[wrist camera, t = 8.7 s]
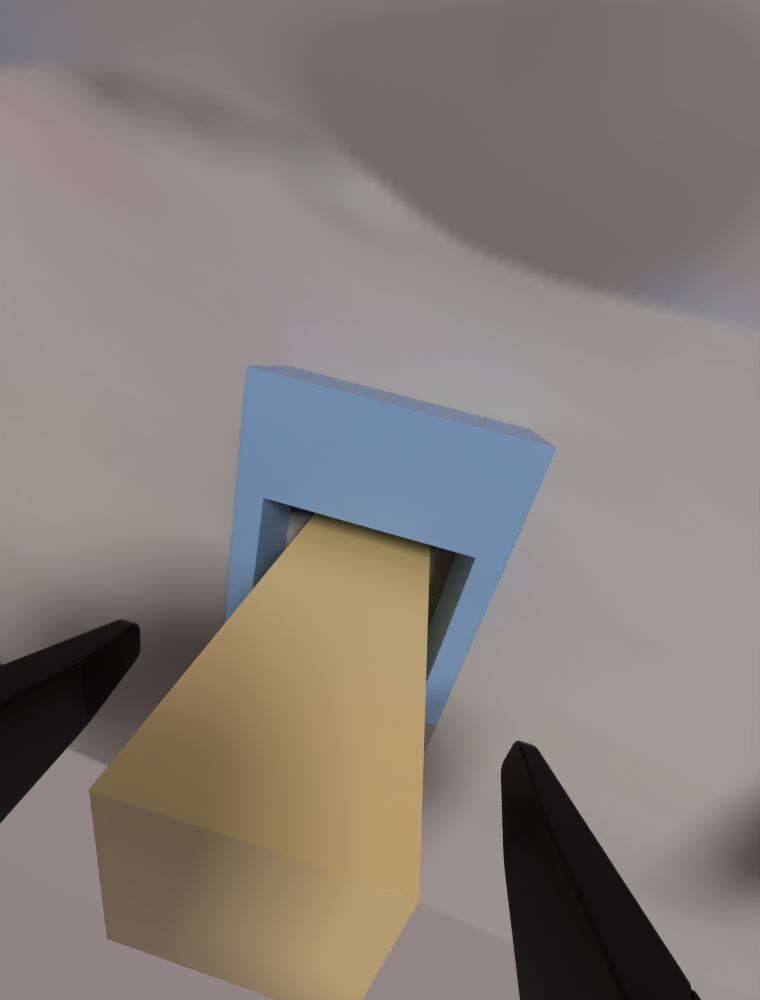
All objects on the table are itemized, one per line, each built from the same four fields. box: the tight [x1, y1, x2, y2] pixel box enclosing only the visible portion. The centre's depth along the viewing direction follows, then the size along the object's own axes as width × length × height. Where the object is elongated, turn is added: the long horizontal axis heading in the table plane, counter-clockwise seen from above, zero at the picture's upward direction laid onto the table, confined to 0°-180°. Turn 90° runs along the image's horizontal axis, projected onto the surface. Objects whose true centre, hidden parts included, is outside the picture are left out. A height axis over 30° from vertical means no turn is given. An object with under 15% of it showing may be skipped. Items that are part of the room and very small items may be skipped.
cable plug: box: [89, 513, 430, 1000], centre depth 9 cm, size 4×4×9 cm
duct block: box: [225, 366, 556, 751], centre depth 13 cm, size 19×8×2 cm, turn 166°
